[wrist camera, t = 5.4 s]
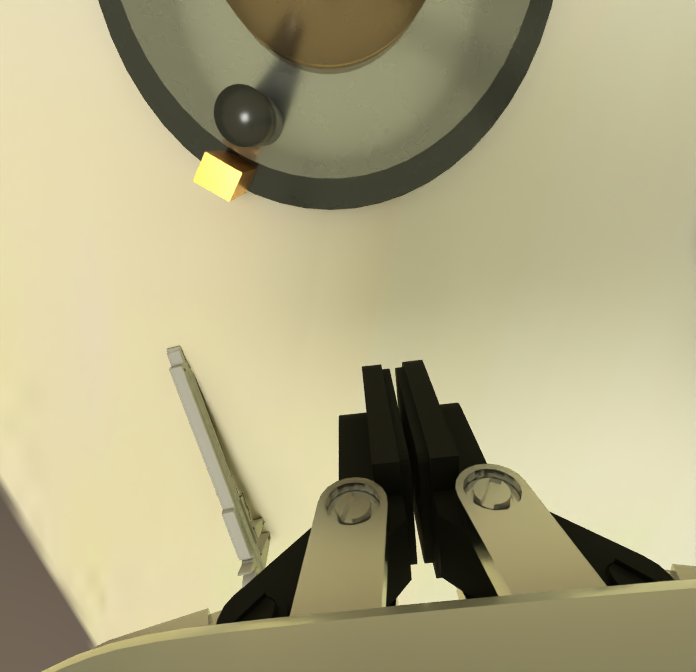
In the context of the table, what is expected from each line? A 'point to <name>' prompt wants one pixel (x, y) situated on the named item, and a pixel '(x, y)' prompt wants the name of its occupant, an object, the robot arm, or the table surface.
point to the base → (323, 193)
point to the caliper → (220, 473)
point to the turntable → (327, 73)
